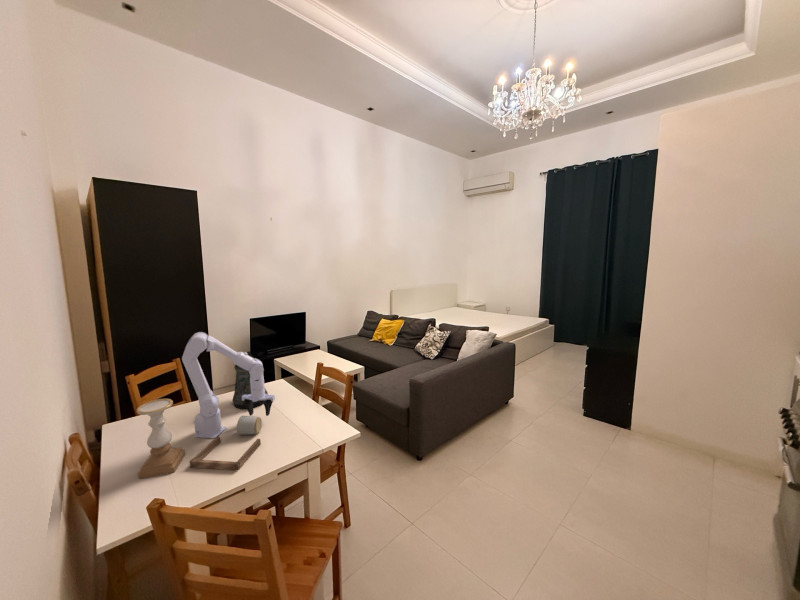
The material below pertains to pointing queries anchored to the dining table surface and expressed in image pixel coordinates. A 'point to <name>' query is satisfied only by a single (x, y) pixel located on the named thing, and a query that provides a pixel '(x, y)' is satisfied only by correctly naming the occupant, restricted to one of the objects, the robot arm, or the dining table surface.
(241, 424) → the ceramic mug
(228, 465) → the walnut dock
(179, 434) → the dining table surface
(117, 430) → the dining table surface
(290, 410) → the dining table surface
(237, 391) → the beer stein
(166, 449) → the candle holder
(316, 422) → the dining table surface
